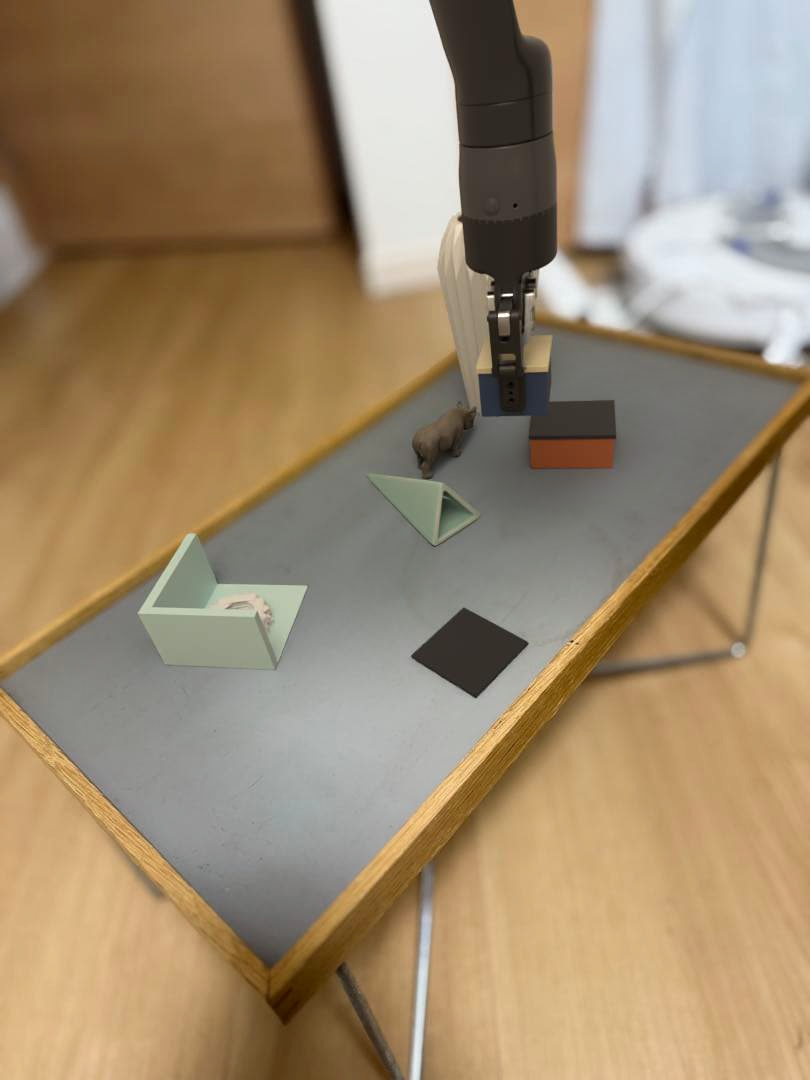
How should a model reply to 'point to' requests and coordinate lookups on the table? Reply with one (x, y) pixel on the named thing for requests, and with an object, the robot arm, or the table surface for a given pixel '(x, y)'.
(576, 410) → the bottom container
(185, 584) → the right angle wall
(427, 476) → the rhino figurine
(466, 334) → the vase
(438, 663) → the mat
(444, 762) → the table surface
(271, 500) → the table surface
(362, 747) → the table surface
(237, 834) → the table surface
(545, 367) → the top container
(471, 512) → the planter
